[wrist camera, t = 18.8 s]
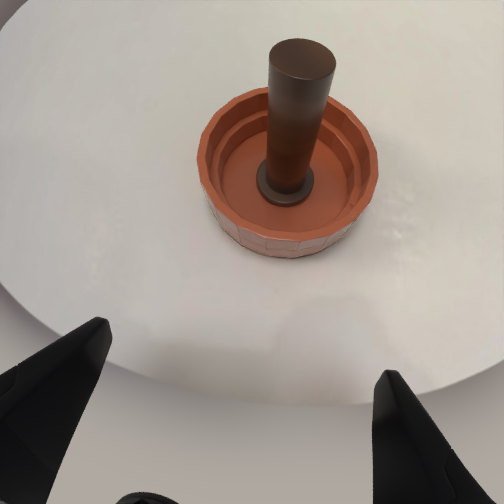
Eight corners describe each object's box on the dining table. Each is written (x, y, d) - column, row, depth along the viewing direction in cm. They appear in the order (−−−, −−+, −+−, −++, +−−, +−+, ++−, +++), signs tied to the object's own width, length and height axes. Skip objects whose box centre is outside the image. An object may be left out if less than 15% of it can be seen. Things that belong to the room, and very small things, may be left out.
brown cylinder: (288, 218, 24) (314, 108, 12) (244, 183, 25) (232, 59, 12) (323, 180, 25) (368, 61, 12) (281, 147, 26) (293, 20, 13)
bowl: (294, 292, 23) (302, 282, 19) (177, 190, 26) (160, 161, 21) (385, 182, 25) (407, 153, 21) (275, 101, 28) (277, 64, 23)
